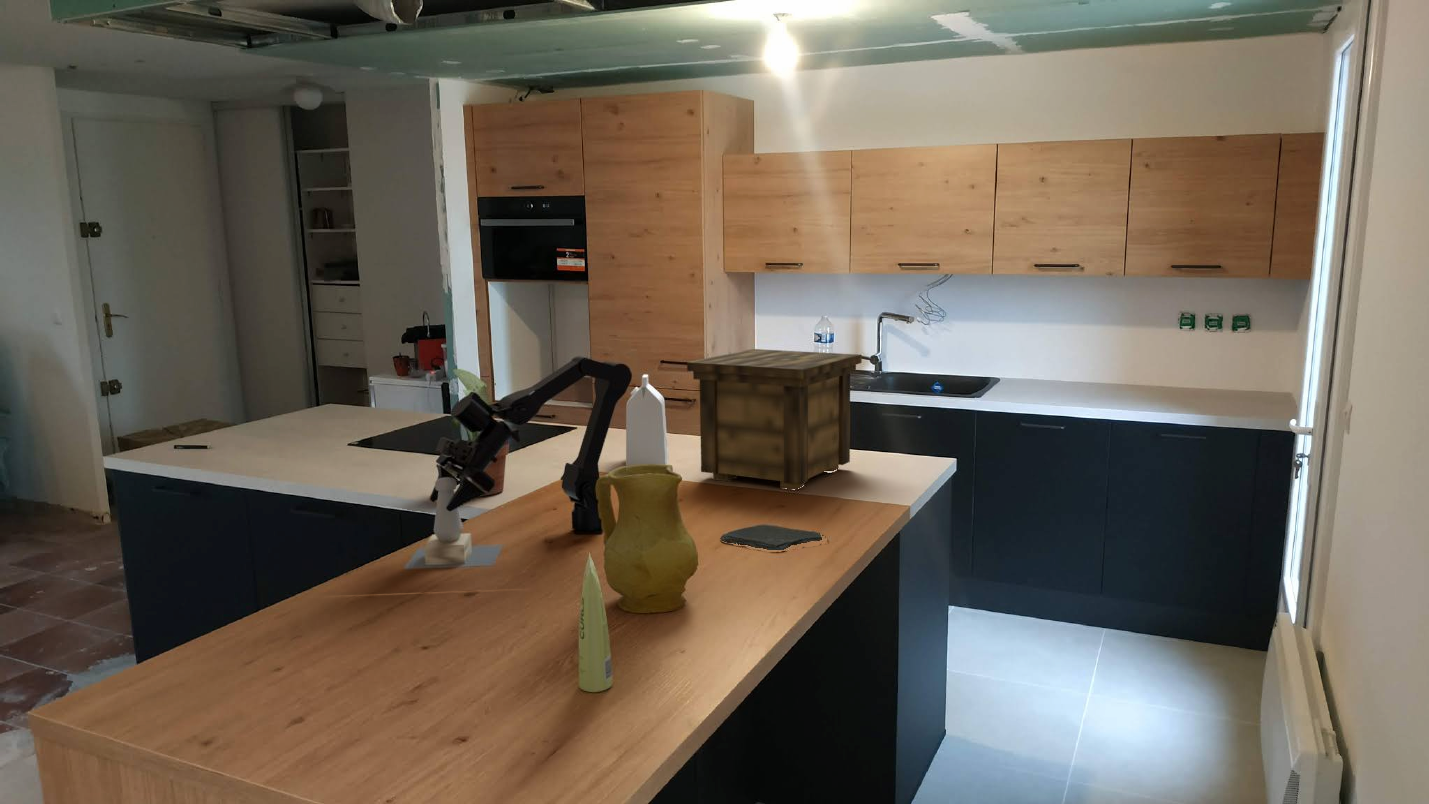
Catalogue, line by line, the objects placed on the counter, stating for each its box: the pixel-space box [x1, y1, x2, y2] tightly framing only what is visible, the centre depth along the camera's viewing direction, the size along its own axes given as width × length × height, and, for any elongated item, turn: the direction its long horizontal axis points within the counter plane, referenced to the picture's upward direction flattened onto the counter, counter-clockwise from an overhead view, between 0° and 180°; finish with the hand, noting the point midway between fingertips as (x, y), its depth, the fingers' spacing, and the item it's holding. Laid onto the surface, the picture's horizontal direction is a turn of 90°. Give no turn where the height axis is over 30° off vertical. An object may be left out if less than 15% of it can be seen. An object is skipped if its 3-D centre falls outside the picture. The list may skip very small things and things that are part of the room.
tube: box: [578, 552, 613, 693], centre depth 147 cm, size 6×5×20 cm
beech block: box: [423, 532, 473, 565], centre depth 208 cm, size 8×8×4 cm
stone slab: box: [719, 524, 827, 550], centre depth 217 cm, size 24×17×2 cm
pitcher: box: [596, 464, 699, 614], centre depth 181 cm, size 17×19×25 cm
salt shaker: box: [433, 477, 463, 542], centre depth 207 cm, size 6×6×13 cm
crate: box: [686, 348, 863, 491], centre depth 275 cm, size 35×35×33 cm
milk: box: [625, 374, 669, 466], centre depth 294 cm, size 12×12×26 cm
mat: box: [403, 544, 504, 570], centre depth 210 cm, size 18×14×1 cm
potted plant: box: [451, 368, 510, 496], centre depth 260 cm, size 16×15×35 cm
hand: (439, 505), depth 206 cm, fingers open, 9 cm apart
